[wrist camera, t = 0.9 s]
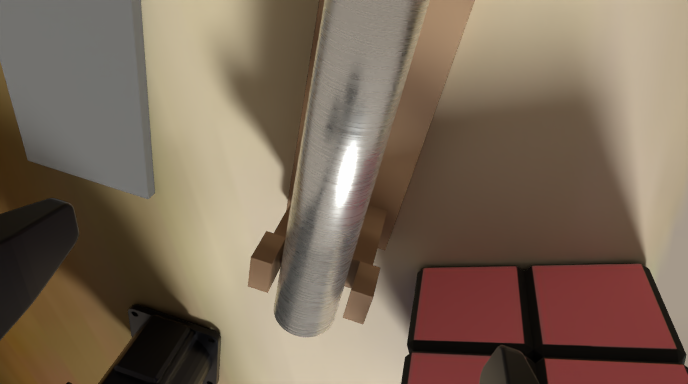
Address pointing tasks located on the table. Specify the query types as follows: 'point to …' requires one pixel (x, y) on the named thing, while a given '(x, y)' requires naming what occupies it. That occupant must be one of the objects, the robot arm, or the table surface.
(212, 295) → the table surface
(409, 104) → the rack
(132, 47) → the mat
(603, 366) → the puzzle cube
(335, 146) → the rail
